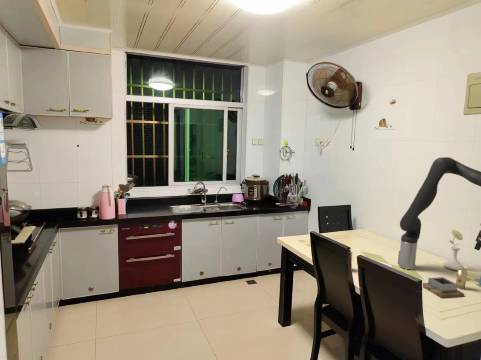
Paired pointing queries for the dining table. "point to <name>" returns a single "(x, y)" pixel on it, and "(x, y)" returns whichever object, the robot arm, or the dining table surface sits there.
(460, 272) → the gold dome cylinder
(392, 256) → the dining table surface
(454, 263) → the flower in vase
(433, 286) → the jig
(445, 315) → the dining table surface
